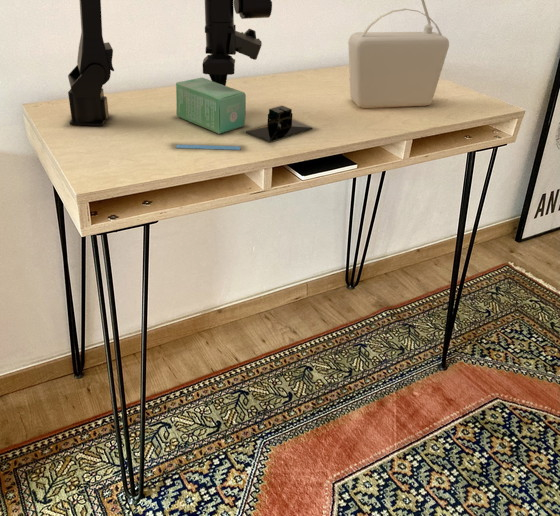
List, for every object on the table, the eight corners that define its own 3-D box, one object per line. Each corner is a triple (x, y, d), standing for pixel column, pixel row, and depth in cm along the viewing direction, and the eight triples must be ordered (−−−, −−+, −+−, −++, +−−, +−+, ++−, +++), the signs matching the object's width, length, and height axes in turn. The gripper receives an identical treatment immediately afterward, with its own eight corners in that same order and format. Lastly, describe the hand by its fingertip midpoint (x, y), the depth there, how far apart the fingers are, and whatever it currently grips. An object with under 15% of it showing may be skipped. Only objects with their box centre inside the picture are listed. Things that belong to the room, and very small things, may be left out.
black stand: (269, 143, 121) (269, 120, 119) (244, 133, 125) (244, 110, 123) (312, 129, 129) (314, 107, 126) (287, 119, 133) (288, 98, 130)
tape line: (175, 148, 117) (175, 147, 117) (176, 145, 118) (176, 144, 118) (240, 149, 117) (240, 149, 117) (240, 146, 119) (240, 146, 119)
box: (219, 135, 123) (219, 97, 119) (176, 118, 131) (174, 82, 127) (246, 127, 128) (247, 90, 124) (202, 110, 136) (201, 76, 132)
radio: (424, 95, 152) (443, -16, 139) (440, 106, 145) (461, -10, 132) (339, 98, 147) (350, -17, 134) (351, 109, 140) (363, -10, 127)
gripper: (260, 31, 118) (259, 111, 127) (259, 11, 134) (258, 83, 142) (200, 30, 118) (204, 110, 126) (206, 9, 134) (209, 82, 142)
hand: (221, 95), depth 134 cm, fingers closed
